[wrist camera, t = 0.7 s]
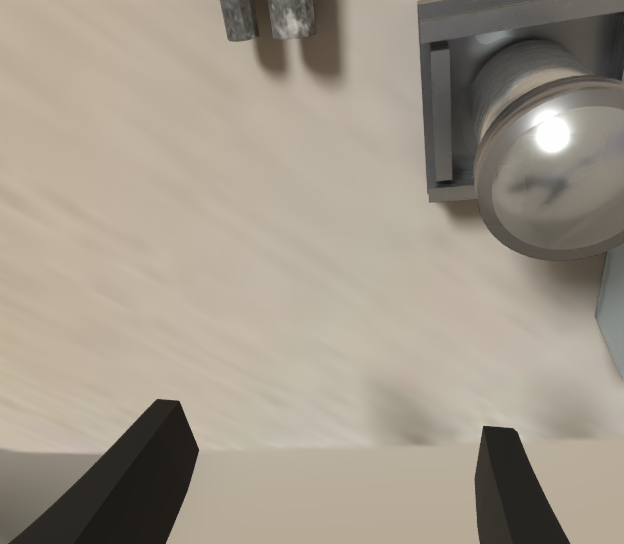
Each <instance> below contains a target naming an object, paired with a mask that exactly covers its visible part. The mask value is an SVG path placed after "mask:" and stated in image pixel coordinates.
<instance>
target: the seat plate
mask: <svg viewBox="0 0 624 544" xmlns="http://www.w3.org/2000/svg"><path fill="white" fill-rule="evenodd" d="M417 5H418V24H419V43H420V62H421V80H422V99H423V118H424V137H425V156H426V174H427V193H428V194H429V203H431V202H444V201H456V200H469V199H477V196H476V191H475V186H474V179H473V168H474V160H475V156H476V152H477V149H478V143H477V139H476V135H475V131H474V128H473V124H472V120H471V116H470V111H469V97H470V92H471V88H472V86H473V83H474V81H475V79H476V77H477V75H478V73H479V72H480V70H481V69H482V68H483V66H484V65H485V64H486V63H487V62H488V61H489V60H490V59H491V58H492V57H493V56H494V55H496V54H497V53H498V52H500V51H501V50H503V49H505V48H507V47H509V46H511V45H513V44H516V43H519V42H523V41H527V40H546V41H551V42H554V43H557V44H559V45H561V46H563V47H564V48H566V49H567V50H568V51H569V52H571V53H572V54H573V55H574V56H575V57H576V58H577V59H578V60H579V61H580V62H582V63H583V64H584V65H585V66H586V67H587V68H588V69H589V70H590V71H591V72H592V73H594V74H595V75H597V76H605V77H610V78H614V79H617V80H620V81H623V82H624V0H419V1H418V4H417Z"/></svg>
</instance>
